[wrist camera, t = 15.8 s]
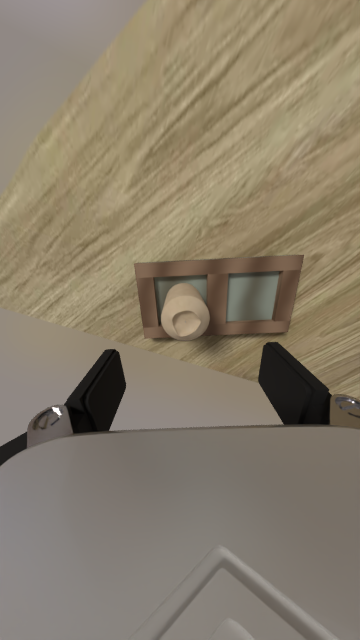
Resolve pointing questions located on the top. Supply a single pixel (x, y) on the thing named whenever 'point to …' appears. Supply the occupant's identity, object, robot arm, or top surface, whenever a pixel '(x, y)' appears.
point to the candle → (184, 313)
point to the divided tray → (224, 292)
